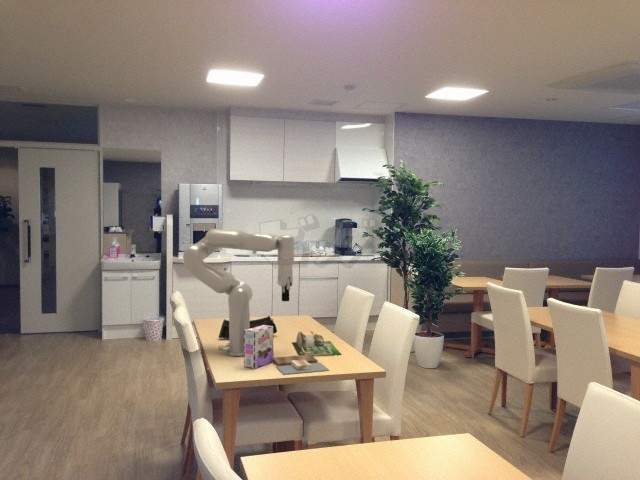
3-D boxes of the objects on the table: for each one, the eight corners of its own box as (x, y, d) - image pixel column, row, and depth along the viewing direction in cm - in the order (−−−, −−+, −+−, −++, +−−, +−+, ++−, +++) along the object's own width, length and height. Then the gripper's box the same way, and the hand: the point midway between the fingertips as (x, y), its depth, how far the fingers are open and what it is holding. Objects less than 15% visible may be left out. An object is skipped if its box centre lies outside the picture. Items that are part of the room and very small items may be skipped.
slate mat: (283, 374, 231) (283, 374, 231) (275, 367, 242) (275, 366, 242) (329, 370, 238) (329, 369, 238) (319, 363, 249) (319, 362, 249)
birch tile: (297, 370, 236) (297, 366, 236) (291, 365, 244) (291, 360, 244) (310, 369, 238) (311, 364, 238) (304, 364, 246) (304, 359, 246)
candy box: (254, 369, 239) (254, 331, 238) (243, 367, 242) (243, 329, 241) (273, 362, 250) (274, 325, 249) (263, 360, 253) (263, 324, 252)
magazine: (214, 323, 290) (269, 304, 298) (213, 322, 293) (268, 303, 301) (224, 354, 292) (278, 334, 300) (223, 352, 295) (277, 333, 303)
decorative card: (290, 327, 291) (328, 326, 295) (290, 341, 292) (328, 340, 295) (299, 341, 259) (342, 340, 263) (299, 358, 260) (341, 356, 263)
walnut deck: (278, 367, 243) (278, 363, 243) (272, 361, 252) (272, 357, 252) (317, 363, 249) (317, 360, 249) (310, 357, 258) (310, 354, 258)
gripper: (273, 260, 268) (273, 299, 269) (282, 263, 254) (282, 304, 255) (288, 260, 271) (288, 298, 271) (298, 263, 256) (298, 303, 257)
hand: (285, 300), depth 263 cm, fingers closed
